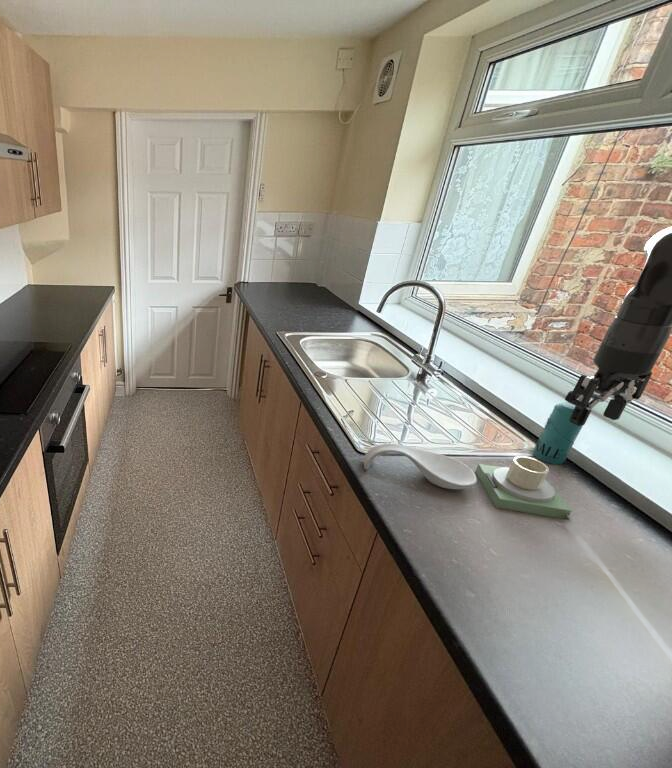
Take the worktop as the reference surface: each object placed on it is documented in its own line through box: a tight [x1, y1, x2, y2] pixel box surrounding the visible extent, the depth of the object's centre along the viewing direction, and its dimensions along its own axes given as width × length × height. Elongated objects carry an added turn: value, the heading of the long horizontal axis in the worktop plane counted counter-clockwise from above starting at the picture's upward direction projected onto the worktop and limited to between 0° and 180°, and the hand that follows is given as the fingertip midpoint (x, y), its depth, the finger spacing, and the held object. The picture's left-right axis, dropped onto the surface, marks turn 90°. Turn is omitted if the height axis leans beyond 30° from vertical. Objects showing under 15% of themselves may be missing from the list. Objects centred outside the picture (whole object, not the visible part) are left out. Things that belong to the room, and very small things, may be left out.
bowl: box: [506, 455, 550, 490], centre depth 94 cm, size 6×6×5 cm
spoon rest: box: [363, 443, 478, 490], centre depth 101 cm, size 24×12×7 cm, turn 70°
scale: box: [474, 463, 572, 520], centre depth 95 cm, size 13×13×4 cm
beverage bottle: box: [532, 390, 584, 465], centre depth 102 cm, size 6×7×20 cm
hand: (593, 420), depth 82 cm, fingers open, 8 cm apart
